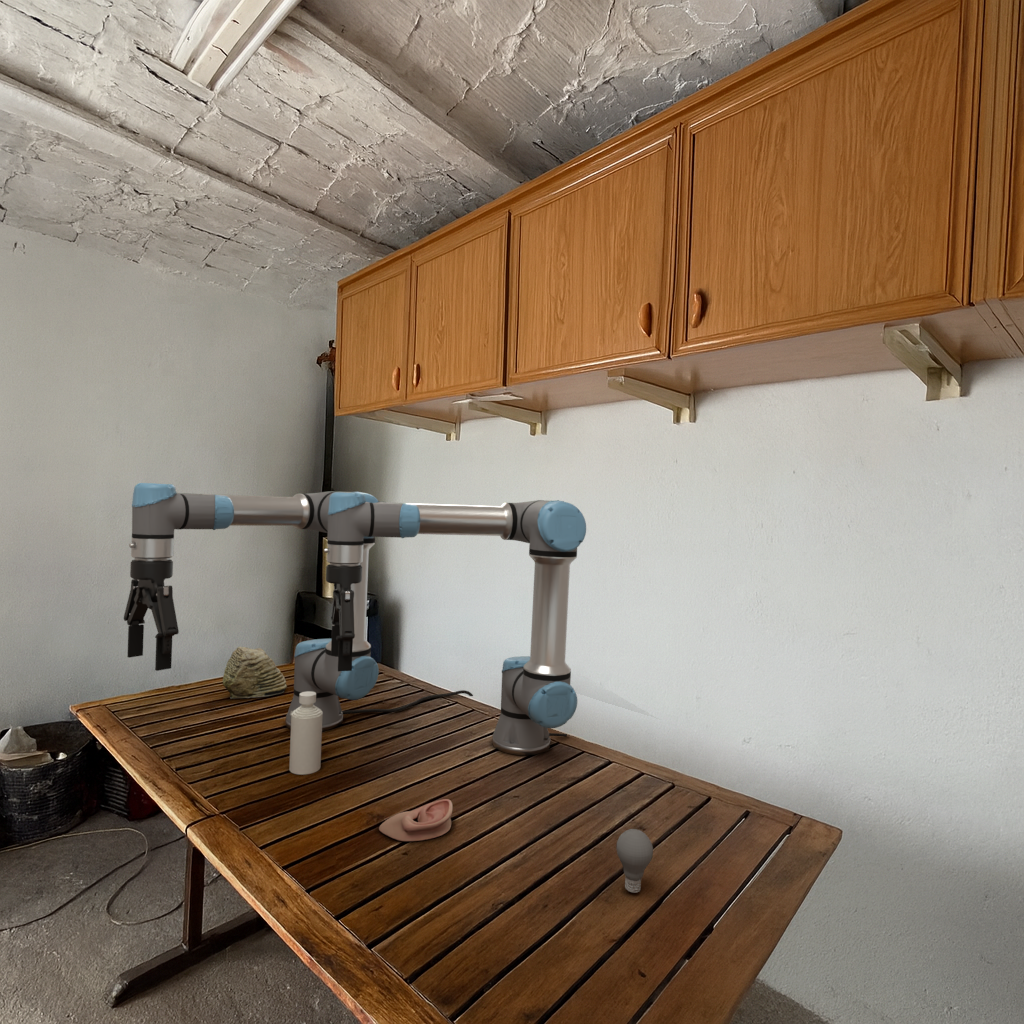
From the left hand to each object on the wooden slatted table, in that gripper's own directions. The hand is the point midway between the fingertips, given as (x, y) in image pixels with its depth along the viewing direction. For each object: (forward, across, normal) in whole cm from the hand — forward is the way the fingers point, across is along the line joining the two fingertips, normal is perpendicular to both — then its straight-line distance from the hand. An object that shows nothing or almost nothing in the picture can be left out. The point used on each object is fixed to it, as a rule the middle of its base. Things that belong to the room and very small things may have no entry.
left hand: (148, 662), depth 129 cm
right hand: (0, +25, +29) cm, 38 cm away
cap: (+11, +10, +31) cm, 34 cm away
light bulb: (+28, +90, +41) cm, 103 cm away
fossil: (+28, -47, +50) cm, 74 cm away
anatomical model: (+28, +49, +30) cm, 64 cm away
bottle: (+28, +10, +31) cm, 43 cm away
